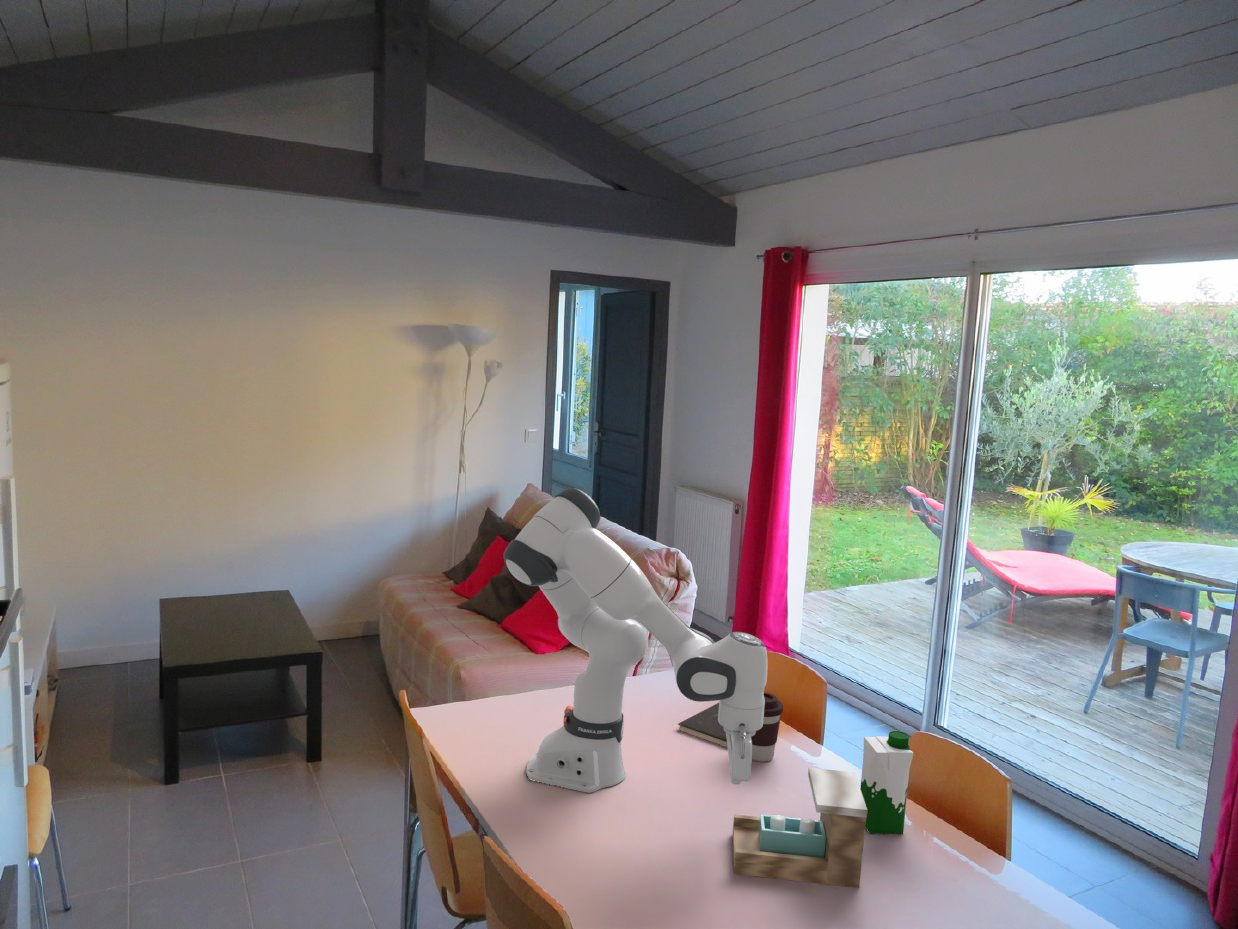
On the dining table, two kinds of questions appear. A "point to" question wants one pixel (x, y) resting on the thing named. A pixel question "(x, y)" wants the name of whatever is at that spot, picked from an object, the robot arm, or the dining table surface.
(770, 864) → the counter
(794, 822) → the tray
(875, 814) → the milk carton
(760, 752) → the coffee cup
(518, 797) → the dining table surface
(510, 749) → the dining table surface
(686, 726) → the hardcover book
